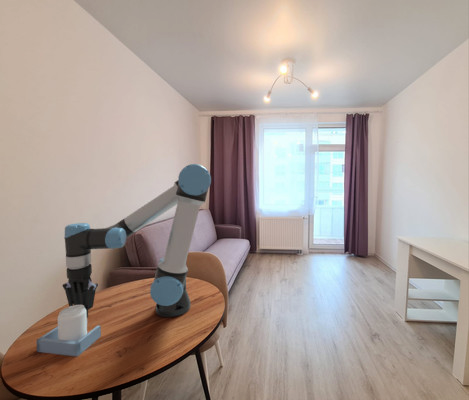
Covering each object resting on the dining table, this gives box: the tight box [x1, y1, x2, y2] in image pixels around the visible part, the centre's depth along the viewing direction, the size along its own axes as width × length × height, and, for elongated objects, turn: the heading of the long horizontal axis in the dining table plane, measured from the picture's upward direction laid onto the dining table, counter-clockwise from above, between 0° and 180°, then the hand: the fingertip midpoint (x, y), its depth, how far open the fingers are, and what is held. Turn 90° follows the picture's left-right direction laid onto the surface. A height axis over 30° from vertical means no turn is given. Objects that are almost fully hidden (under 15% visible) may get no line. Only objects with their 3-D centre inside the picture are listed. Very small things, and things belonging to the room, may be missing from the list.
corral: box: [35, 324, 102, 358], centre depth 76 cm, size 15×10×4 cm, turn 81°
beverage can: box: [57, 304, 88, 342], centre depth 76 cm, size 8×8×12 cm
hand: (82, 327), depth 82 cm, fingers closed
